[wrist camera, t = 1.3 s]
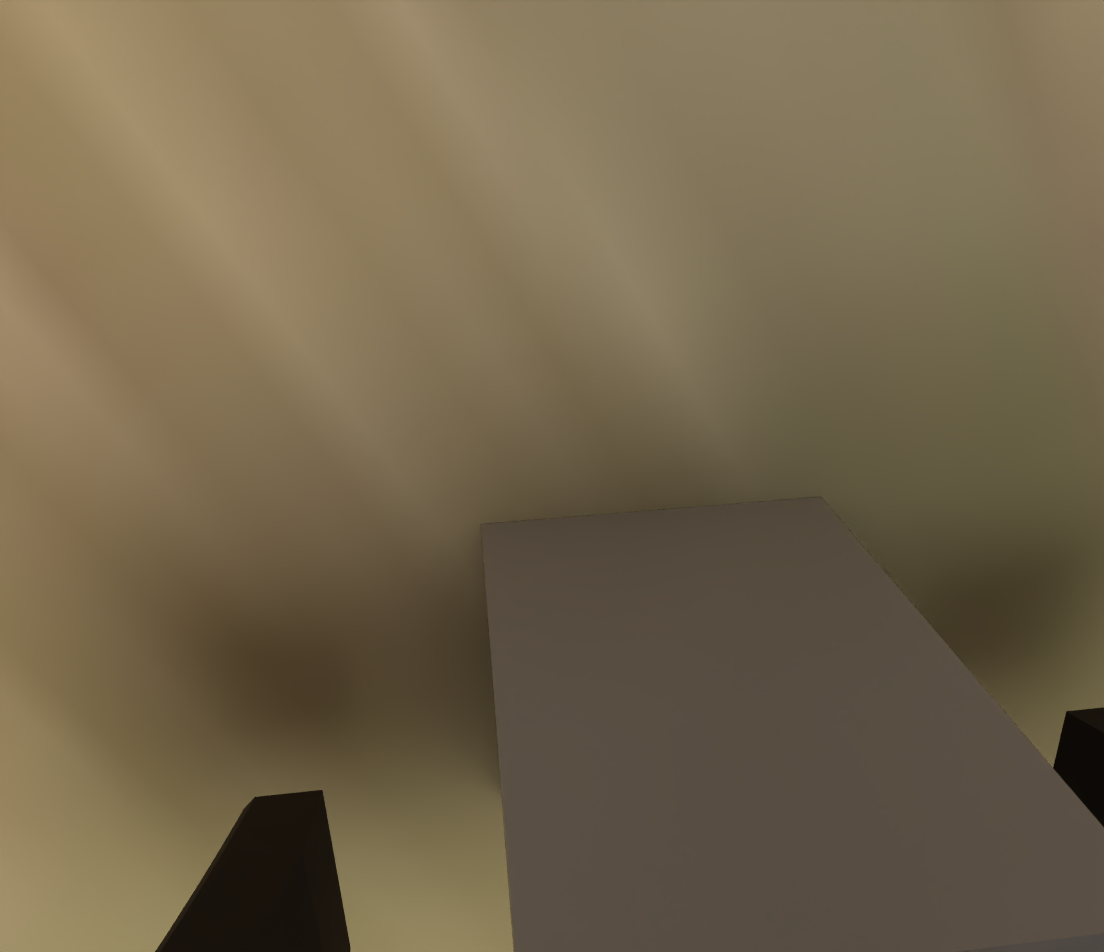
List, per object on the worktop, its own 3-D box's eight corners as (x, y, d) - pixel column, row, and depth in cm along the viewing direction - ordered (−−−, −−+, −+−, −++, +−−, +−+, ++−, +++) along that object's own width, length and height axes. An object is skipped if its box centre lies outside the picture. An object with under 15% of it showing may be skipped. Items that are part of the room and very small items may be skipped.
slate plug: (820, 495, 11) (1296, 1051, 5) (796, 762, 13) (1130, 1430, 7) (480, 523, 11) (529, 1157, 5) (501, 794, 12) (558, 1526, 6)
